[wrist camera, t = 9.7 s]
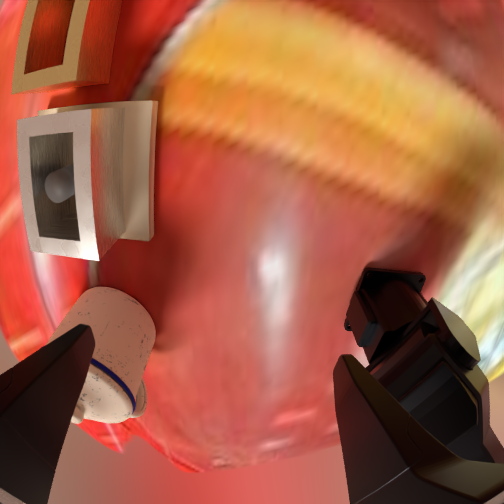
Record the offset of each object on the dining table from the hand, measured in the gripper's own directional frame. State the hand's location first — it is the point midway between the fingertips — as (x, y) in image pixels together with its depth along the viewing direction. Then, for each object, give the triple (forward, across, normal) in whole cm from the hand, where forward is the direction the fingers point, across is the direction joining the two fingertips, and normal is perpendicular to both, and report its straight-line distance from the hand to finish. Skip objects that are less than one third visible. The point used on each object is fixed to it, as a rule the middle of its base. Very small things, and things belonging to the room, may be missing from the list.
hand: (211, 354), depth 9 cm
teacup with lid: (+13, +10, +13) cm, 21 cm away
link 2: (+12, +11, -3) cm, 16 cm away
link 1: (+13, +13, -14) cm, 23 cm away
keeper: (+13, +11, -3) cm, 17 cm away
